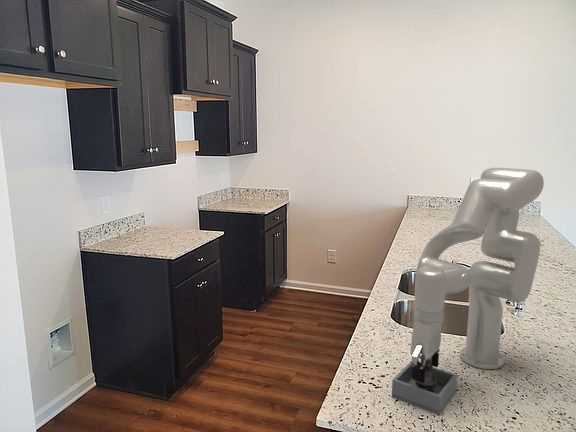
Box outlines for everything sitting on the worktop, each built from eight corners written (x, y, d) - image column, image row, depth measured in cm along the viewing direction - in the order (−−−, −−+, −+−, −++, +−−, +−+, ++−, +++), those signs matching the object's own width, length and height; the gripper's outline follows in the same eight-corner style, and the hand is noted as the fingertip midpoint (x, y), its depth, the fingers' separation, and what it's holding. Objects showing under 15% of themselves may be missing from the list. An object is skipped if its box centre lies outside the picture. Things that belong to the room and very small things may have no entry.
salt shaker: (409, 391, 123) (411, 351, 120) (419, 382, 127) (421, 343, 125) (429, 400, 119) (432, 358, 116) (439, 390, 123) (442, 350, 121)
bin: (411, 376, 132) (412, 360, 131) (456, 391, 124) (457, 375, 123) (391, 396, 122) (392, 379, 121) (439, 414, 114) (440, 397, 113)
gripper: (427, 300, 127) (424, 356, 131) (401, 321, 114) (398, 382, 117) (454, 306, 123) (450, 364, 126) (430, 328, 110) (426, 392, 113)
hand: (425, 372), depth 122 cm, fingers open, 9 cm apart
